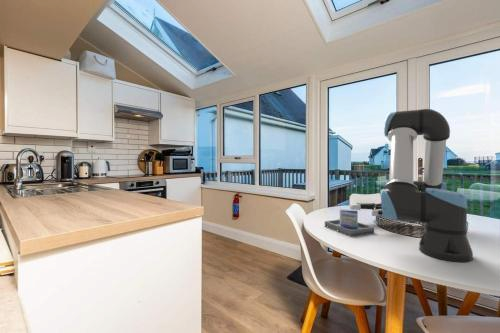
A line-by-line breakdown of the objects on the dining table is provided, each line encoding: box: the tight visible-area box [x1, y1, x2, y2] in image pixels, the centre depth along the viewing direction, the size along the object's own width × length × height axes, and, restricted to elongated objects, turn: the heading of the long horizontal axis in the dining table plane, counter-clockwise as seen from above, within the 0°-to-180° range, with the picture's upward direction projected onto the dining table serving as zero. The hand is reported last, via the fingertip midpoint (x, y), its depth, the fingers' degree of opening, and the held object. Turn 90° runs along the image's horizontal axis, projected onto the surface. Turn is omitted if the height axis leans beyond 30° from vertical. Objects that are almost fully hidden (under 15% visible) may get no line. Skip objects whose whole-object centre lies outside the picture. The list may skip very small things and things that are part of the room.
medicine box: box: [339, 208, 359, 229], centre depth 118 cm, size 8×4×9 cm, turn 75°
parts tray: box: [324, 218, 375, 237], centre depth 118 cm, size 18×14×2 cm
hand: (361, 210), depth 121 cm, fingers open, 13 cm apart
